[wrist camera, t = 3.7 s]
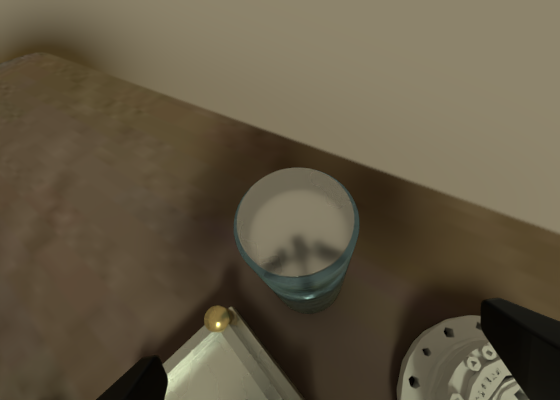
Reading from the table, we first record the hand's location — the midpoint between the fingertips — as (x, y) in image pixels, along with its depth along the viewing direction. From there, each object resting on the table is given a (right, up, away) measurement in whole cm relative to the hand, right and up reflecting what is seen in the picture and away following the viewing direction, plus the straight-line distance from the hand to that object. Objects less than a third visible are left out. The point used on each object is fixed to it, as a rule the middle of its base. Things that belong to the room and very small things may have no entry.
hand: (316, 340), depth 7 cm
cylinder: (+1, -2, +11) cm, 11 cm away
